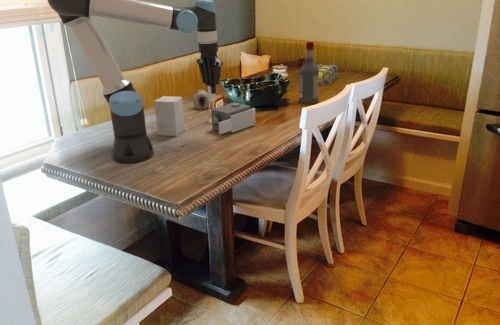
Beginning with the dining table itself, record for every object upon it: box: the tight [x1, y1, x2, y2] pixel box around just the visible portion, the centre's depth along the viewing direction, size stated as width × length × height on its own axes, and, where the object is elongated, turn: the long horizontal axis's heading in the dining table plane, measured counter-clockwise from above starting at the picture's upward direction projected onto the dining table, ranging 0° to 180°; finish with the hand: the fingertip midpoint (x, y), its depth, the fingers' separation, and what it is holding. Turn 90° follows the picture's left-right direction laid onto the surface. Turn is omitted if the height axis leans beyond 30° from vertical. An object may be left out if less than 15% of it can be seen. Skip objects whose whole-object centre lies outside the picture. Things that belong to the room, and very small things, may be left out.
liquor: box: [298, 41, 319, 104], centre depth 226 cm, size 9×9×30 cm
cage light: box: [316, 63, 339, 86], centre depth 275 cm, size 15×8×30 cm
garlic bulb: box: [192, 89, 210, 111], centre depth 225 cm, size 9×8×10 cm
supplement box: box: [153, 95, 186, 137], centre depth 189 cm, size 9×9×15 cm
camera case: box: [210, 101, 252, 134], centre depth 194 cm, size 15×10×10 cm
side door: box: [218, 107, 256, 135], centre depth 189 cm, size 21×1×7 cm, turn 137°
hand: (212, 100), depth 183 cm, fingers closed
